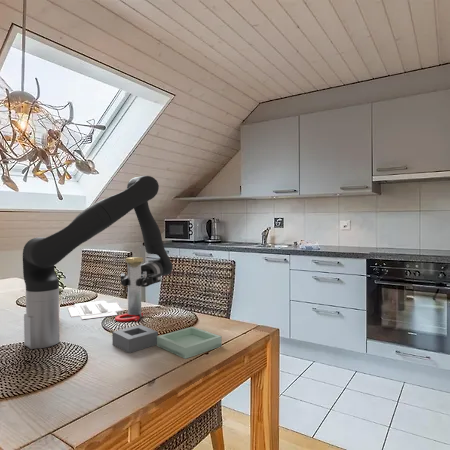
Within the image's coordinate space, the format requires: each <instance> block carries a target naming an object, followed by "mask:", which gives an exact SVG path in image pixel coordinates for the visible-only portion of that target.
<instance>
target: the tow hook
mask: <svg viewBox="0 0 450 450" xmlns="http://www.w3.org/2000/svg"><path fill="white" fill-rule="evenodd" d="M143 316H144V313H143V312H141V314H139V315H129V314H128V313H123V314H118V315H115V318H114V320H115V322H121V323H122V322H132V321H135V322H138V321H139V320H141V318H142V317H143ZM125 317H126V318H125ZM127 317H128V318H127Z"/></svg>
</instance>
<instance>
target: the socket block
mask: <svg viewBox="0 0 450 450" xmlns="http://www.w3.org/2000/svg"><path fill="white" fill-rule="evenodd" d="M157 336H159V331H157V330H155V329H152V328H150V327H148V326H145V325H142V324H139V325H134V326H131V327H126V328H122V329H118V330H114V331H112V336H111V337H112V346H115V347H116V348H119V349H121V350H122V351H124V352H126V353H128V354H131V353H134V352H137V351H141V350H143V349H144V350H145V349H148V348H151V347H154V346H157Z"/></svg>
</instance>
